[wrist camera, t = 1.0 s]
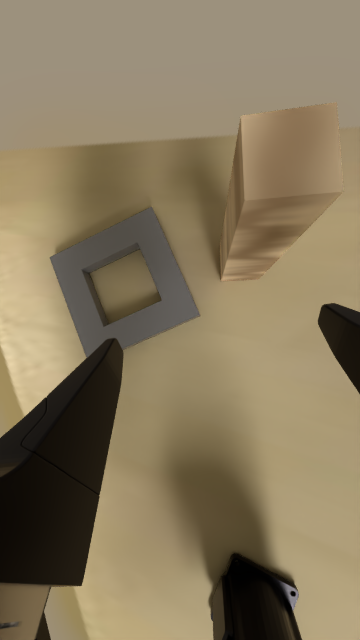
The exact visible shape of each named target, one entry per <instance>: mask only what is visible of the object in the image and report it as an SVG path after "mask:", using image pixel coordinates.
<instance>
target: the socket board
mask: <svg viewBox="0 0 360 640" xmlns="http://www.w3.org/2000/svg"><path fill="white" fill-rule="evenodd" d="M138 249H140V250H141V252H142V254H143V257H144V259H145V261H146V264H147V266H148V268H149V271H150V273H151V275H152V278H153V280H154V282H155V285H156V287H157V290H158V292H159V294H160V297H161V299H162V301H159V302H157V303H155V304H153V305H151V306H148V307H146V308H144V309H142V310H140V311H137V312H135V313H133V314H131V315H129V316H126V317H124V318H122V319H120V320H118V321H115V322H113V323H111V324H108V321H107V319H106V316H105V314H104V311H103V309H102V306H101V303H100V301H99V298H98V296H97V293H96V291H95V288H94V286H93V283H92V280H91V278H90V275H89V273H91V272H93V271H95V270H97V269H99V268H101V267H103V266H105V265H107V264H109V263H111V262H113V261H116V260H118V259H120V258H122V257H124V256H126V255H128V254H130V253H132V252H134V251H136V250H138ZM50 260H51V263H52V265H53V268H54V271H55V273H56V276H57V279H58V282H59V284H60V287H61V290H62V292H63V295H64V298H65V300H66V303H67V306H68V309H69V311H70V314H71V317H72V319H73V322H74V325H75V327H76V330H77V333H78V336H79V338H80V341H81V344H82V346H83V349H84V352H85V354H86V357H88V356H89V355H91V354H92V353H93V352H94V351H95V350H96V349H97V348H98V347H99V346H100V345H101V344H102V343H103V342H104V341H105V340H106V339H109V338H116V339H117V340H118V342H119V344H120V346H121V348H122V350H124V349H126V348H128V347H131V346H133V345H135V344H137V343H140V342H142V341H144V340H147V339H149V338H151V337H153V336H156V335H158V334H160V333H162V332H165V331H167V330H169V329H172V328H174V327H176V326H178V325H181V324H183V323H185V322H187V321H190V320H192V319H194V318H196V317H199V316H200V314H199V312H198V310H197V307H196V305H195V303H194V301H193V298H192V296H191V294H190V292H189V289H188V287H187V285H186V283H185V280H184V278H183V276H182V274H181V271H180V269H179V267H178V265H177V262H176V260H175V258H174V256H173V253H172V251H171V249H170V247H169V244H168V242H167V240H166V238H165V235H164V233H163V231H162V229H161V226H160V224H159V222H158V220H157V217H156V215H155V213H154V211H153V208H152V207H150V208H148V209H146V210H144V211H142V212H140V213H138V214H136V215H134V216H132V217H130V218H128V219H126V220H124V221H122V222H120V223H118V224H116V225H114V226H112V227H110V228H108V229H106V230H104V231H102V232H100V233H98V234H96V235H94V236H92V237H90V238H88V239H86V240H84V241H82V242H80V243H77V244H75V245H73V246H71V247H69V248H67V249H65V250H63V251H61V252H59V253H57V254H55V255H53V256H51V257H50Z"/></svg>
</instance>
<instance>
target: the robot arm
mask: <svg viewBox="0 0 360 640" xmlns="http://www.w3.org/2000/svg"><path fill="white" fill-rule="evenodd" d="M318 325H319V327H320V329H321V331H322V333H323V335H324V337H325V339H326V341H327V343H328V345H329V347H330V349H331V351H332V352H333V354H334V356H335V358H336V359H337V361H338V362H339V364H340V365H341V367H342V368H343V370H344V371H345V373H346V374H347V376H348V377H349V379H350V380H351V382H352V383H353V385H354V386H355V388H356V389H357V391H358V392H359V394H360V312H358V311H355V310H352V309H349V308H347V307H344V306H341V305H338V304H335V303H330V304H324V305H323V306H322V307H321V310H320V314H319V318H318ZM122 367H123V350H122V348H121V346H120V344H119V342H118V340H117V339H116V338H109V339H106V340H105V341H104V342H103V343H102V344H101V345H100V346H99V347H98V348H97V349H96V350H95V351H94V352H93V353H92V354H91V355H89V356H88V357H87V358H86V359H85V360H84V361H83V362H82V363H81V364H80V365H79V366H78V367H77V368H76V369H75V370H74V371H73V372H72V373H71V374H70V375H69V376H67V377H66V378H65V379H64V380H63V381H62V382H61V383H60V384H59V385H58V386H57V387H56V388H55V389H54V390H53V391H52V392H51V393H50V394H49V395H48V396H47V398H44V399H43V400H42V401H41V402H40V403H39V404H38V405H37V406H36V407H35V408H34V409H33V410H32V411H31V412H29V413H28V414H27V415H26V416H25V417H24V418H23V419H22V420H21V421H20V422H18V423H17V424H16V425H15V426H14V427H13V428H11V429H10V430H9V431H8V432H7V433H5V434H4V435H3V436H2V437H1V438H0V640H51V639H50V634H49V630H48V626H47V623H46V618H45V614H44V609H45V606H46V602H47V599H48V595H49V592H50V589H51V587H64V586H82V582H83V578H84V574H85V569H86V563H87V558H88V553H89V548H90V543H91V538H92V533H93V527H94V522H95V517H96V512H97V507H98V502H99V495H100V491H101V485H102V480H103V475H104V470H105V465H106V460H107V455H108V449H109V444H110V439H111V434H112V429H113V424H114V419H115V413H116V408H117V403H118V398H119V393H120V387H121V380H122ZM236 560H237V562H235V561H236ZM291 591H292V592H291ZM298 596H299V594H298V590H297V588H296V586H295V585H294V584H293V583H291V582H289V581H287V580H285V579H284V578H282V577H280V576H278V575H276V574H274V573H272V572H270V571H269V570H267V569H265V568H263V567H261V566H259V565H257V564H255V563H254V562H252V561H250V560H248V559H246V558H244V557H242V556H240V555H239V554H233V555H232V556H231V558H230V561H229V563H228V566H227V569H226V571H225V574H223V575H222V576H221V578H220V581H219V583H218V586H217V589H216V591H215V594H214V597H213V606H212V608H211V619H212V621H213V638H214V640H302V638H301V635H300V632H299V628H298V625H297V622H296V619H295V616H294V613H293V610H294V607H295V604H296V602H297V599H298Z"/></svg>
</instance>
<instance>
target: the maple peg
mask: <svg viewBox="0 0 360 640" xmlns="http://www.w3.org/2000/svg"><path fill="white" fill-rule="evenodd" d="M343 192H344V186H343V174H342V161H341V149H340V136H339V124H338V111H337V103H336V102H335V103H329V104H321V105H314V106H307V107H299V108H292V109H285V110H278V111H271V112H264V113H257V114H249V115H242V116H241V118H240V124H239V130H238V136H237V142H236V148H235V155H234V161H233V167H232V173H231V179H230V185H229V192H228V198H227V204H226V210H225V216H224V222H223V229H222V235H221V241H220V268H221V281H234V280H254V279H260V277H261V276H262V275H263V274H264V273H265V272H266V271H267V270H268V269H269V268H270V267H271V266H272V265H273V264H274V263H275V262H276V261H277V260H278V259H279V258H280V257H281V256H282V255H283V254H284V253H285V252H286V251H287V250H288V249H289V248H290V247H291V246H292V244H293V243H294V242H295V241H296V240H297V239H298V238H299V237H300V236H301V235H302V234H303V233H304V232H305V231H306V230H307V229H308V228H309V227H310V226H311V225H312V224H313V223H314V222H315V221H316V220H317V219H318V218H319V217H320V216H321V215H322V214H323V213H324V211H325V210H326V209H327V208H328V207H329V206H330V205H331V204H332V203H333V202H334V201H335V200H336V199H337V198H338V197H339V196H340V195H341V194H342V193H343Z"/></svg>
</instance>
